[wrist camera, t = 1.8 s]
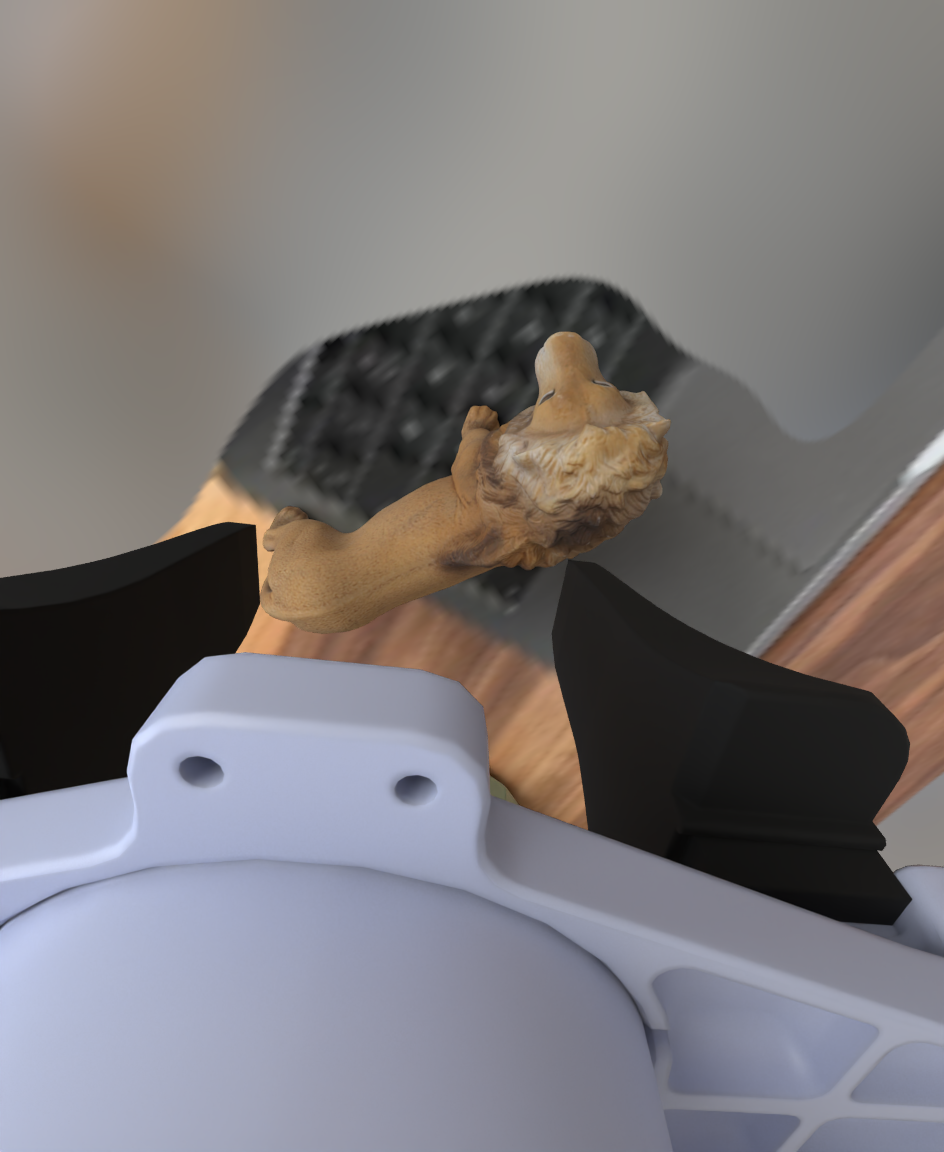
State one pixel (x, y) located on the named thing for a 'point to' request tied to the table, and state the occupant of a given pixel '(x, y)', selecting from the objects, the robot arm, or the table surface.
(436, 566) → the lion figurine
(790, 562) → the table surface
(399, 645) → the table surface
